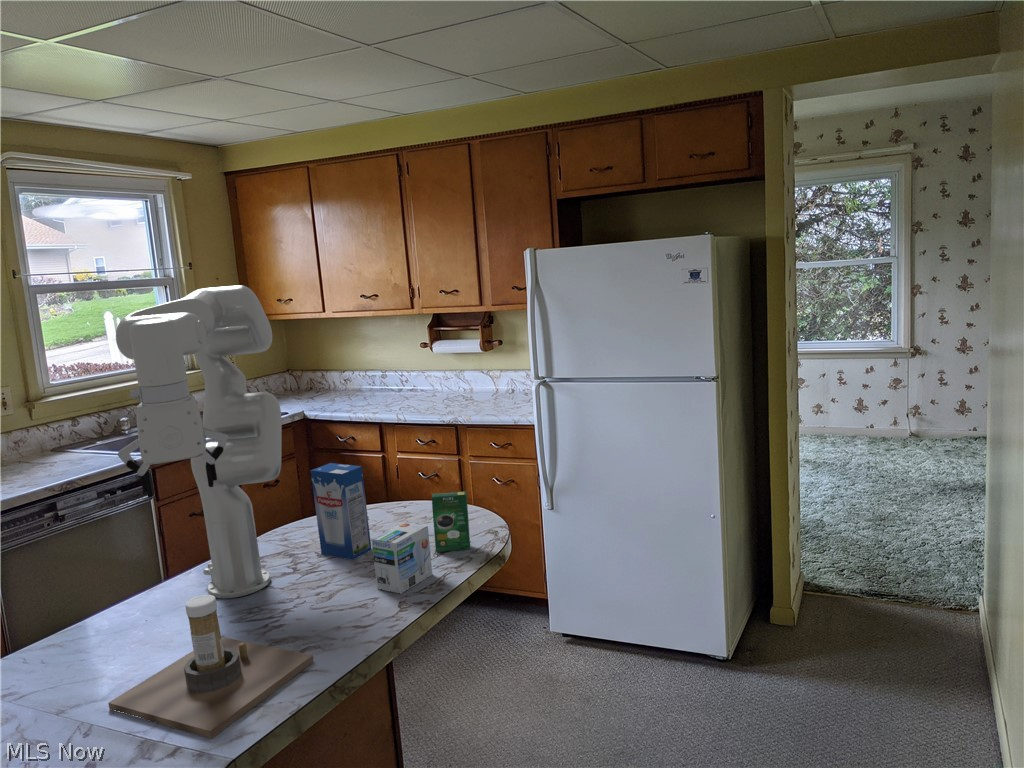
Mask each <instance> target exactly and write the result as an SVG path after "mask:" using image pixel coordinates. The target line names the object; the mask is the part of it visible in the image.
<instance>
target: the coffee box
mask: <svg viewBox="0 0 1024 768" xmlns="http://www.w3.org/2000/svg"><path fill="white" fill-rule="evenodd" d="M431 506H432V507H431V508H432V517H433V518H432V521H433V531H434V543H435V553H441V552H443V553H445V552H453V551H464V550H470V549H471V538H470V522H469V510H468V495H467V491H466V490H465V491H454V492H453V491H452V492H441V493H439V492H438V493H431Z"/></svg>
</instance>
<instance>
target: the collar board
mask: <svg viewBox="0 0 1024 768" xmlns="http://www.w3.org/2000/svg"><path fill="white" fill-rule="evenodd" d="M221 638H222V643H223V649H224V658H225V664H226V665H224V666H223V667H221V668H218V669H215V670H212V671H205V672H198V670H197V665H196V661H195V655H194V650H192V651H191V652H189V653H187V654H186V655H184V656H182V657H180V658H179V659H177V660H176V661H174V662H172V663H171V664H169V665H168V666H166V667H164V668H162V669H161V670H160V671H158V672H156V673H155V674H152V675H151V676H149V677H148V678H146V679H145V680H143V681H141V682H140V683H138V684H137V685H135V686H133V687H132V688H129V690H127V691H125V692H124V693H122V694H120V695H118V696H117V697H115V698H113V699H112V700H110V701H109V702H108V708H109V710H110V709H112V710H116V711H120V712H124V713H127V714H130V715H134V716H138V717H141V718H144V719H146V720H145V721H147V720H150V721H149V722H151V721H152V722H151V723H154V722H156V723H155V724H158V723H159V724H158V725H161V724H163V725H162V726H165V725H166V726H165V727H168V726H169V727H168V728H172V729H176V730H180V731H183V732H186V733H190V734H192V735H193V734H194V735H197V736H201V737H203V736H204V738H208V739H213V738H215V737H216V736H217V735H219V734H220V733H221V732H222V731H224V730H225V729H227V728H228V727H229V726H231V725H232V724H233V723H235V722H236V721H237V720H239V719H240V718H241V717H242V716H244V715H245V714H247V713H248V712H249V711H251V710H252V709H253V708H255V707H256V706H257V705H258V704H260V703H261V702H262V701H263V700H265V699H266V698H268V697H269V696H271V694H273V693H274V692H275V691H277V690H278V689H280V688H281V687H282V686H284V684H286V683H288V681H290V680H292V678H294V677H295V676H297V675H298V674H300V672H302V671H304V670H305V669H306V668H307V667H308V666H310V665H311V664H313V663H314V656H313V654H308V653H305V652H298V651H294V650H289V649H284V648H279V647H275V646H268V645H265V644H259V643H256V642H255V643H254V642H250V641H249V642H248V641H245V640H241V639H240V640H239V639H235V638H229V637H225V636H221ZM112 710H111V711H112ZM116 711H115V712H116ZM130 715H129V716H130ZM144 719H143V720H144Z"/></svg>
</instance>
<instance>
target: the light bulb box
mask: <svg viewBox="0 0 1024 768" xmlns="http://www.w3.org/2000/svg"><path fill="white" fill-rule="evenodd" d="M370 541H371V549H372V555H373V556H372V557H373V564H374V571H375V573H374V574H375V581H376V589H378V590H381V589H382V591H387V592H390V591H391V592H390V593H396V594H399V593H400V595H401V594H403V593H405V592H407V591H408V590H410V589H411V588H414V587H415V586H417V585H418V584H420V583H421V582H423V581H424V580H426V579H428V578H429V577H431V576H432V575H433V568H432V567H433V566H432V565H433V563H432V556H431V555H432V554H431V546H430V537H429V527H428V525H423V524H416V523H411V522H405V521H404V522H402V523H400V524H398V525H397V526H394V527H392V528H391V529H390V528H389V530H386V531H384V532H383V533H381V534H379V535H377V536H375V537H373V538H370ZM427 577H428V578H427ZM419 582H420V583H419ZM409 588H410V589H409ZM406 590H407V591H406Z"/></svg>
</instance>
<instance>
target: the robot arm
mask: <svg viewBox="0 0 1024 768" xmlns="http://www.w3.org/2000/svg"><path fill="white" fill-rule="evenodd" d="M115 342H116V346H117V348H118V351H119V352H120V353H121V355H122V356H124V357H125V358H127V359H129V360H133V363H134V368H135V373H136V374H135V375H136V379H137V384H138V385H137V388H135V389H134V390H129V396H130V398H131V399H132V400H133V399H137V400H139V401H140V403H139V404H137V405H136V427H137V428H136V429H137V437H138V438H136V439H134V440H133V441H131V442H130V443H129V444H128V445H125V446H124V447H122V448H121V449H120V450H119V451H118V452H117V457H118V458H119V459H120V460H121V461H122V463H124V464H125V466H126V467H127V469H130V470H132V471H133V472H134V473H136V474H137V475H138V476H140V481H141V488H142V492H143V493H147V499H148V498H149V499H150V498H153V497H154V495H155V488H154V483H153V475H152V471H150V469H149V468H150V467H151V465H157V464H158V465H159V464H164V463H171V462H177V461H178V462H179V461H183V460H189V459H190V467H191V471H192V474H193V477H194V480H195V482H196V485H197V489H198V492H199V495H200V499H201V506H202V510H203V516H204V523H205V528H206V536H207V542H208V549H209V555H210V556H209V557H210V560H211V561H210V562H209V563H208V564H207V567H205V568H204V569H203V575H205V576H210V578H211V579H210V581H211V582H209V584H208V585H207V594H208V595H213V596H214V597H215V598H217V599H233V598H239V597H243V596H248V595H250V594H253V593H256V592H258V591H260V590H262V589H264V588H265V587H266V586H267V585H268V584H270V581H271V574H270V572H269V571H267V570H266V569H262V564H261V558H260V550H259V545H258V544H259V543H258V539H257V538H258V537H257V531H256V523H255V522H256V521H255V516H254V509H253V504H252V501H251V499H250V497H249V495H248V494H247V493H246V492H245V491H244V490H243V488H241V487H240V486H242V485H248V484H249V485H250V484H256V483H257V484H259V483H266V482H269V481H273V480H275V479H277V478H278V477H279V475H280V473H281V470H282V436H283V435H282V433H283V432H282V430H283V429H282V422H283V421H282V409H281V406H280V403H279V400H278V398H277V397H276V396H275V395H274V394H272V393H270V392H266V391H257V392H247V377H246V376H245V375H244V373H243V372H242V371H241V370H240V369H239V368H238V367H237V366H236V365H235V364H234V363H232V362H231V361H229V360H228V359H227V358H226V357H228V356H238V355H248V354H249V355H250V354H259V353H260V354H261V353H263V352H266V351H268V350H269V348H270V347H271V345H272V344H273V331H272V326H271V323H270V321H269V319H268V316H267V315H266V312H265V311H264V308H263V306H262V304H261V302H260V300H259V298H258V297H257V295H256V293H255V292H254V291H253V290H252V289H251V288H249V287H248V286H245V285H242V284H241V285H240V284H239V285H228V286H227V285H226V286H215V287H204V288H203V287H202V288H198V289H196V290H193V291H192V292H190V293H189V294H187V295H185V296H183V297H182V298H180V299H176V300H171V301H168V302H165V303H162V304H158V305H154V306H150V307H147V308H142V309H139V310H135V311H134V312H131V313H129V314H128V315H126V316H124V317H122V319H121V320H120V321H119V323H118V325H117V327H116V331H115ZM190 355H194V359H195V360H196V363H197V365H198V367H199V370H200V372H201V374H202V375H203V379H204V399H203V409H202V410H203V411H202V415H201V412H200V409H199V406H198V403H197V400H196V398H195V397H194V396H192V395H191V394H190V393H191V392H190V386H189V382H188V375H187V370H186V364H185V363H186V362H185V359H184V356H190ZM206 438H208V439H211V441H208V442H207V439H206ZM137 449H139V452H140V457H141V460H142V462H139V461H137V460H136V459H134V458H133V457H132V455H131V453H133V452H134V451H136V450H137Z"/></svg>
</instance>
